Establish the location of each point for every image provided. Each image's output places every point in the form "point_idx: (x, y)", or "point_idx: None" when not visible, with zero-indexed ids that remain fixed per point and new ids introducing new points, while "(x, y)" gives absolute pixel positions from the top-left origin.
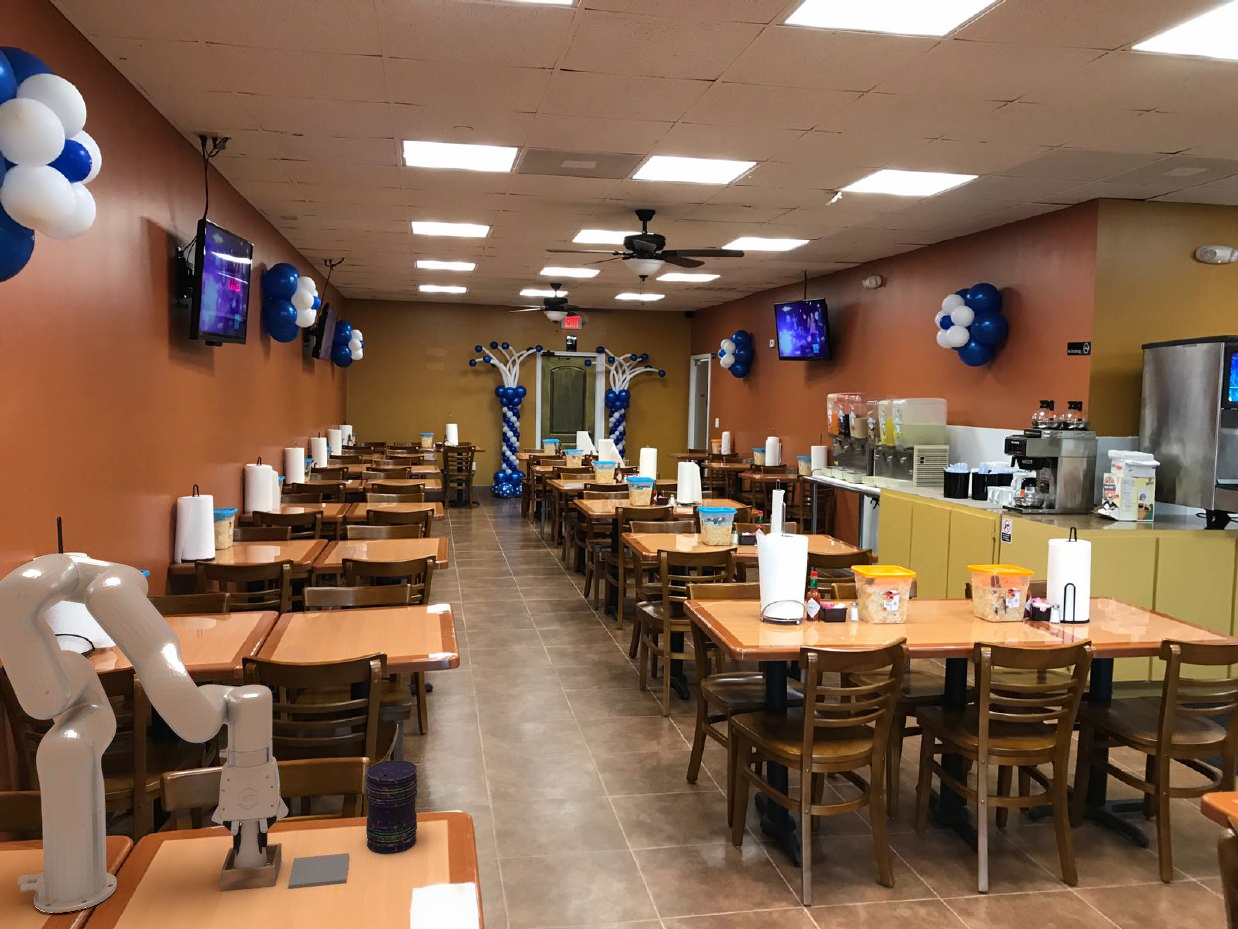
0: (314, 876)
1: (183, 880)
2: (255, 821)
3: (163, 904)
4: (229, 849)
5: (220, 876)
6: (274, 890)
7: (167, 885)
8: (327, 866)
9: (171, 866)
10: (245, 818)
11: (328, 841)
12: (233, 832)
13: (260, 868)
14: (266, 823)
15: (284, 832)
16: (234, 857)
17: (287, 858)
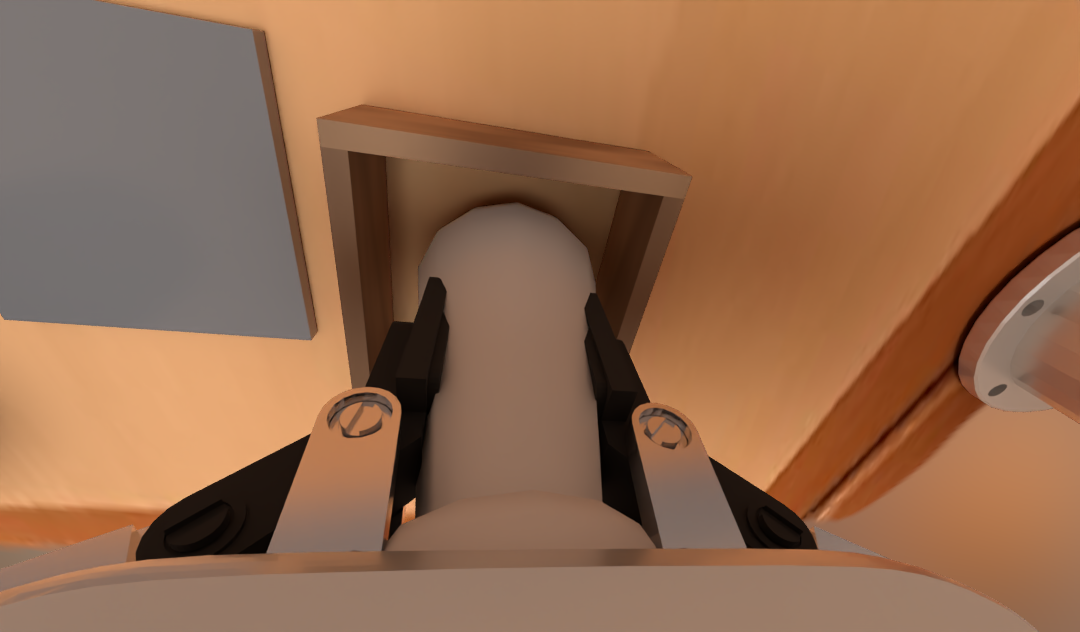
0: (95, 100)
1: (764, 305)
2: (438, 519)
3: (909, 116)
4: None
5: (681, 170)
6: (355, 46)
7: (826, 285)
8: (63, 208)
9: (769, 402)
10: (614, 589)
11: (211, 441)
12: (670, 428)
13: (428, 135)
14: (298, 481)
15: (408, 508)
16: None
17: None
